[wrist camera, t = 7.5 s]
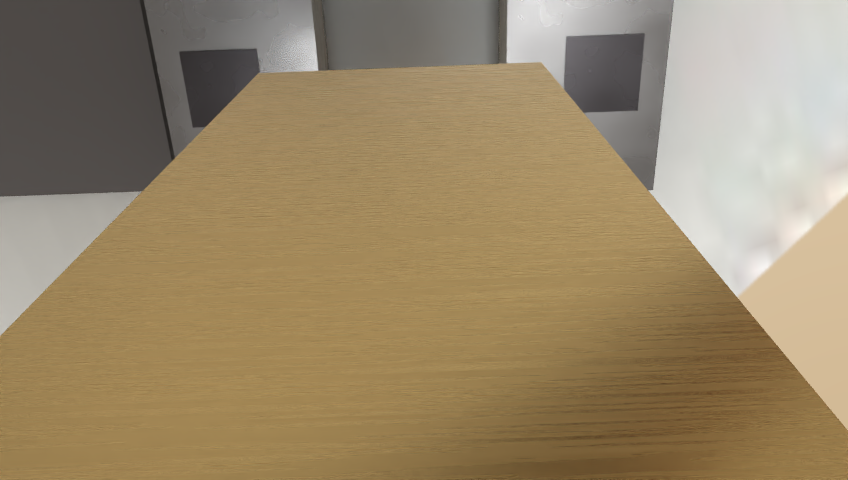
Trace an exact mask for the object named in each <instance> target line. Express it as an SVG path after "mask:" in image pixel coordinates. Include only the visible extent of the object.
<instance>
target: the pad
mask: <svg viewBox="0 0 848 480" xmlns="http://www.w3.org/2000/svg"><path fill="white" fill-rule="evenodd" d="M174 159H175V156H174V151H173V146H172V141H171V136H170V130H169V125H168V120H167V115H166V110H165V105H164V100H163V95H162V90H161V85H160V80H159V75H158V70H157V65H156V60H155V55H154V50H153V45H152V39H151V34H150V29H149V24H148V19H147V14H146V9H145V4H144V0H0V196H27V195H54V194H81V193H108V192H134V191H143V190H144V189H145V188H146V187H147V186H148V185H149V184H150V183H151V182H152V181H153V180H154V179H155V178H156V177H157V176H158V175H159V174H160V173H161V172H162V171H163V170H164V169H165V168H166V167H167V166H168V165H169V164H170V163H171V162H172V161H173V160H174Z"/></svg>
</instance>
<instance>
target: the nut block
mask: <svg viewBox="0 0 848 480" xmlns="http://www.w3.org/2000/svg"><path fill="white" fill-rule="evenodd" d="M0 480H848V430H847V429H846V428H845V427H844V425H843V424H842V423H841V422H840V421H839V419H838V418H837V417H836V416H835V414H833V412H832V411H831V410H830V409H829V407H828V406H827V405H826V404H825V403H824V401H823V400H822V399H821V398H820V396H819V395H818V394H817V393H816V392H815V390H814V389H813V388H812V387H811V386H810V384H808V382H807V381H806V380H805V379H804V377H803V376H802V375H801V374H800V373H799V371H798V370H797V369H796V368H795V366H794V365H793V364H792V363H791V362H790V361H789V359H788V358H787V357H786V356H785V354H784V353H783V352H782V351H781V350H780V348H779V347H778V346H777V345H776V344H775V343H774V341H773V340H772V339H771V338H770V336H769V335H768V334H767V333H766V332H765V331H764V329H763V328H762V327H761V326H760V324H759V323H758V322H757V321H756V320H755V318H754V317H753V316H752V315H751V314H750V312H749V311H748V310H747V309H746V308H745V307H744V305H743V304H742V303H741V302H740V300H739V299H738V298H737V297H736V296H735V294H734V293H733V292H732V291H731V290H730V288H729V287H728V286H727V285H726V284H725V282H724V281H723V280H722V279H721V277H720V276H719V275H718V274H717V273H716V271H715V270H714V269H713V268H712V267H711V265H710V264H709V263H708V262H707V261H706V259H705V258H704V257H703V256H702V255H701V253H700V252H699V251H698V250H697V249H696V247H695V246H694V245H693V244H692V243H691V241H690V240H689V239H688V238H687V237H686V235H685V234H684V233H683V232H682V231H681V229H680V228H679V227H678V226H677V225H676V223H675V222H674V221H673V220H672V219H671V217H670V216H669V215H668V214H667V213H666V211H665V210H664V209H663V208H662V207H661V205H660V204H659V203H658V202H657V201H656V199H655V198H654V197H653V196H652V195H651V193H650V192H649V191H648V190H647V189H646V187H645V186H644V185H643V184H642V183H641V181H640V180H639V179H638V178H637V177H636V175H635V174H634V173H633V172H632V171H631V169H630V168H629V167H628V166H627V165H626V163H625V162H624V161H623V160H622V159H621V157H620V156H619V155H618V154H617V153H616V151H615V150H614V149H613V148H612V147H611V145H610V144H609V143H608V142H607V140H606V139H605V138H604V137H603V136H602V134H601V133H600V132H599V131H598V130H597V128H596V127H595V126H594V125H593V124H592V122H591V121H590V120H589V119H588V118H587V116H586V115H585V114H584V113H583V112H582V110H581V109H580V108H579V107H578V106H577V104H576V103H575V102H574V101H573V100H572V98H571V97H570V96H569V95H568V94H567V92H566V91H565V90H564V89H563V88H562V86H561V85H560V84H559V83H558V82H557V80H556V79H555V78H554V77H553V76H552V74H551V73H550V72H549V71H548V70H547V68H546V67H545V66H544V65H543V64H542V62H532V63H507V64H481V65H456V66H430V67H405V68H379V69H354V70H328V71H303V72H277V73H258V74H257V75H256V76H255V77H254V78H253V79H252V80H251V81H250V82H249V83H248V84H247V85H246V87H245V88H244V89H243V90H242V91H241V92H240V93H239V94H238V95H237V96H236V97H235V98H234V99H233V100H232V101H231V102H230V103H229V104H228V105H227V106H226V107H225V108H224V109H223V110H222V111H221V112H220V113H219V114H218V115H217V116H216V117H215V118H214V119H213V120H212V121H211V122H210V123H209V124H208V125H207V126H206V127H205V128H204V129H203V130H202V131H201V132H200V133H199V134H198V135H197V136H196V137H195V138H194V139H193V140H192V141H191V142H190V143H189V145H188V146H187V147H186V148H185V149H184V150H183V151H182V152H181V153H180V154H179V155H178V156H177V157H176V158H175V159H174V160H173V161H172V162H171V163H170V164H169V165H168V166H167V167H166V168H165V169H164V170H163V171H162V172H161V173H160V174H159V175H158V176H157V177H156V178H155V179H154V180H153V181H152V182H151V183H150V184H149V185H148V186H147V187H146V188H145V189H144V190H143V191H142V192H141V193H140V194H139V195H138V196H137V197H136V198H135V199H134V200H133V202H132V203H131V204H130V205H129V206H128V207H127V208H126V209H125V210H124V211H123V212H122V213H121V214H120V215H119V216H118V217H117V218H116V219H115V220H114V221H113V222H112V223H111V224H110V225H109V226H108V227H107V228H106V229H105V230H104V231H103V232H102V233H101V234H100V235H99V236H98V237H97V238H96V239H95V240H94V241H93V242H92V243H91V244H90V245H89V246H88V247H87V248H86V249H85V250H84V251H83V252H82V253H81V254H80V255H79V256H78V257H77V258H76V260H75V261H74V262H73V263H72V264H71V265H70V266H69V267H68V268H67V269H66V270H65V271H64V272H63V273H62V274H61V275H60V276H59V277H58V278H57V279H56V280H55V281H54V282H53V283H52V284H51V285H50V286H49V287H48V288H47V289H46V290H45V291H44V292H43V293H42V294H41V295H40V296H39V297H38V298H37V299H36V300H35V301H34V302H33V303H32V304H31V305H30V306H29V307H28V308H27V309H26V310H25V311H24V312H23V313H22V314H21V315H20V317H19V318H18V319H17V320H16V321H15V322H14V323H13V324H12V325H11V326H10V327H9V328H8V329H7V330H6V331H5V332H4V333H3V334H2V335H1V336H0Z"/></svg>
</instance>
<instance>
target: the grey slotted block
mask: <svg viewBox="0 0 848 480" xmlns="http://www.w3.org/2000/svg"><path fill="white" fill-rule="evenodd" d="M673 3H674V0H499V59H498V64H507V63H532V62H542V64H543V65H544V66H545V67H546V68H547V70H548V71H549V72H550V73H551V74H552V76H553V77H554V78H555V79H556V80H557V82H558V83H559V84H560V85H561V86H562V88H563V89H564V90H565V91H566V92H567V94H568V95H569V96H570V97H571V98H572V100H573V101H574V102H575V103H576V104H577V106H578V107H579V108H580V109H581V110H582V112H583V113H584V114H585V115H586V116H587V118H588V119H589V120H590V121H591V122H592V124H593V125H594V126H595V127H596V128H597V130H598V131H599V132H600V133H601V134H602V136H603V137H604V138H605V139H606V140H607V142H608V143H609V144H610V145H611V147H612V148H613V149H614V150H615V151H616V153H617V154H618V155H619V156H620V157H621V159H622V160H623V161H624V162H625V163H626V165H627V166H628V167H629V168H630V169H631V171H632V172H633V173H634V174H635V175H636V177H637V178H638V179H639V180H640V181H641V183H642V184H643V185H644V186H645V187H646V189H647V190H653V184H654V175H655V166H656V157H657V148H658V139H659V130H660V121H661V112H662V103H663V94H664V84H665V75H666V66H667V57H668V48H669V39H670V30H671V21H672V12H673ZM144 4H145V9H146V14H147V19H148V24H149V29H150V34H151V39H152V45H153V50H154V55H155V60H156V65H157V70H158V75H159V80H160V85H161V90H162V95H163V100H164V105H165V110H166V115H167V120H168V125H169V130H170V136H171V141H172V146H173V151H174V156H175V158H176V157H177V156H178V155H179V154H180V153H181V152H182V151H183V150H184V149H185V148H186V147H187V146H188V145H189V143H190V142H191V141H192V140H193V139H194V138H195V137H196V136H197V135H198V134H199V133H200V132H201V131H202V130H203V129H204V128H205V127H206V126H207V125H208V124H209V123H210V122H211V121H212V120H213V119H214V118H215V117H216V116H217V115H218V114H219V113H220V112H221V111H222V110H223V109H224V108H225V107H226V106H227V105H228V104H229V103H230V102H231V101H232V100H233V99H234V98H235V97H236V96H237V95H238V94H239V93H240V92H241V91H242V90H243V89H244V88H245V87H246V85H247V84H248V83H249V82H250V81H251V80H252V79H253V78H254V77H255V76H256V75H257V74H258V73H277V72H303V71H328V70H329V68H328V57H327V47H326V36H325V25H324V15H323V4H322V0H144Z"/></svg>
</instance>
